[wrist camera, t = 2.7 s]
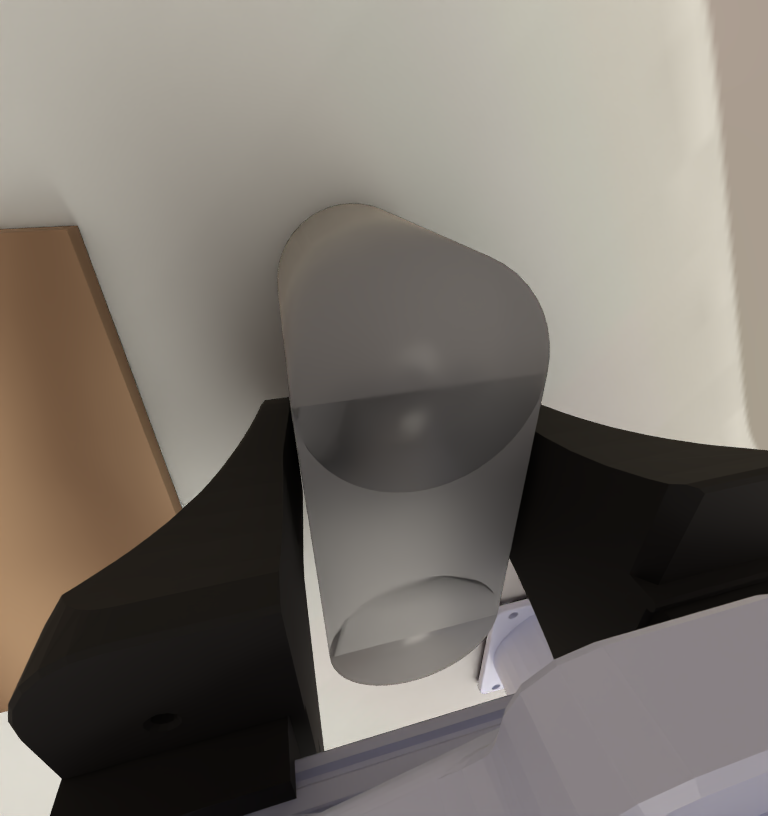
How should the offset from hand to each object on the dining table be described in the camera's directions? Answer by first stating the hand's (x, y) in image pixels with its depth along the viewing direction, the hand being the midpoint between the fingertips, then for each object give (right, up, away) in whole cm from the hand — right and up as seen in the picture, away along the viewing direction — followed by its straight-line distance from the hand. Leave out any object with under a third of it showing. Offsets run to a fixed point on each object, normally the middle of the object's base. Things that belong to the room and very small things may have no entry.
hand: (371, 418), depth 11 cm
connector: (0, +1, +1) cm, 2 cm away
